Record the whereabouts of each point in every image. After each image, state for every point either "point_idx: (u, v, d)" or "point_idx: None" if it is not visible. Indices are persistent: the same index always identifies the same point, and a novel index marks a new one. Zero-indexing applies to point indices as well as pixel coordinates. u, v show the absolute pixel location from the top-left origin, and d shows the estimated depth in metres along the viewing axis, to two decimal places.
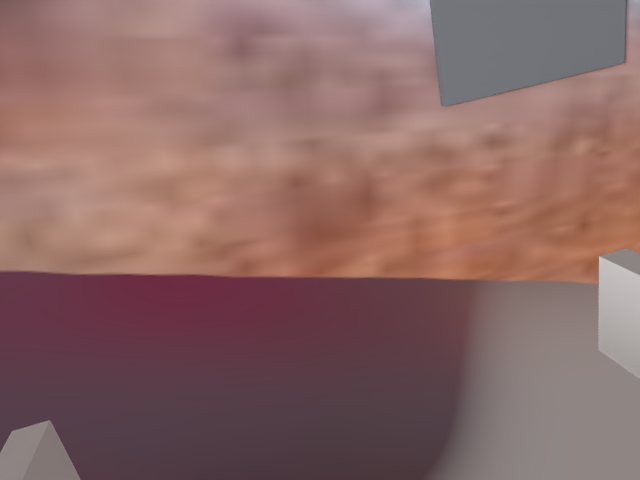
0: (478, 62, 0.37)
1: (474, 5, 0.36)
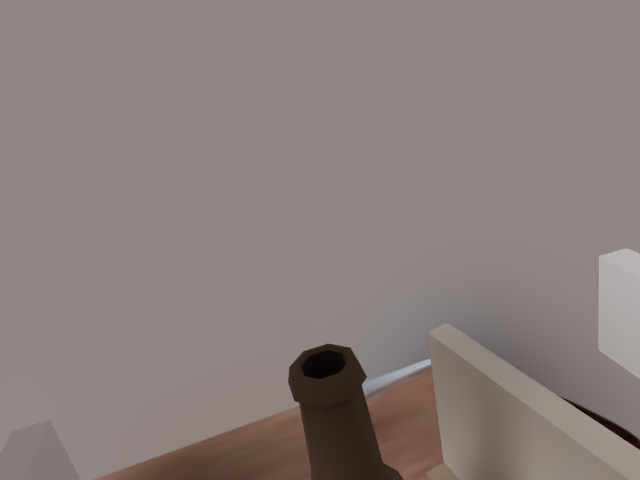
0: None
1: None
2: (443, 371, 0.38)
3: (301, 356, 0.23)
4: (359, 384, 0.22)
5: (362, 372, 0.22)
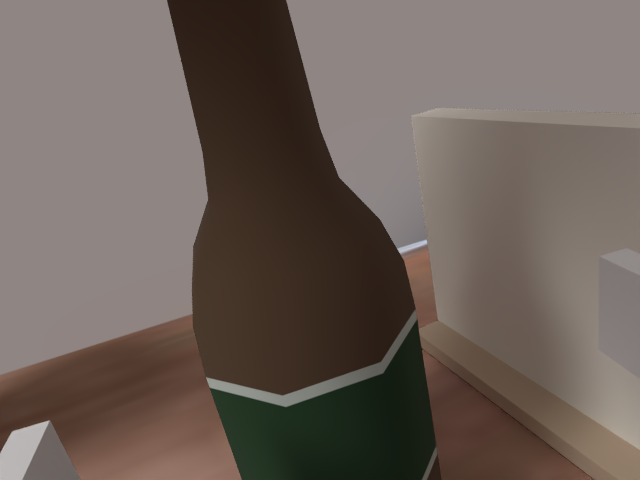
0: None
1: None
2: (432, 167, 0.28)
3: None
4: None
5: None
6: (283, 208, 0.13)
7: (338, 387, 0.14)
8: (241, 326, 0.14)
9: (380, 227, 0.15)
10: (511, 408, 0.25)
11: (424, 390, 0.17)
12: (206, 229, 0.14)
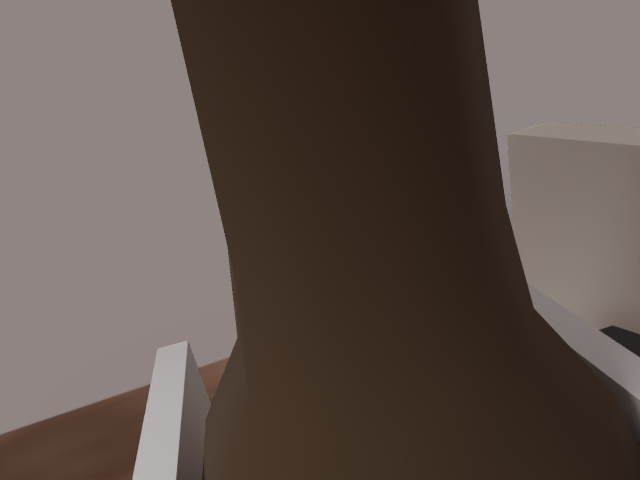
0: None
1: None
2: (540, 207, 0.20)
3: None
4: None
5: None
6: (443, 423, 0.05)
7: None
8: None
9: (618, 414, 0.07)
10: None
11: None
12: (239, 445, 0.06)
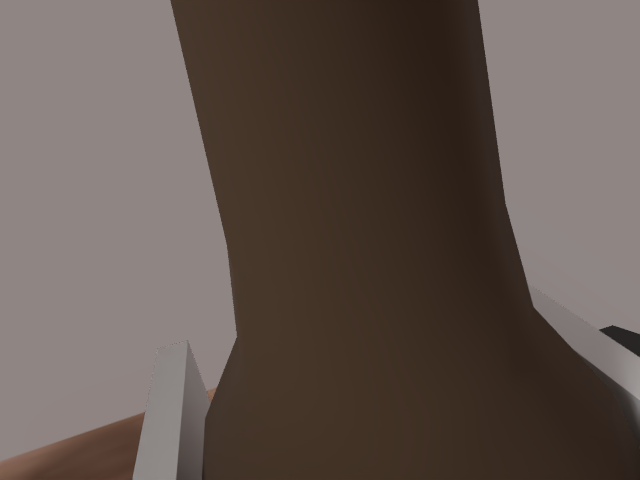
0: None
1: None
2: None
3: None
4: None
5: None
6: (443, 423, 0.05)
7: None
8: None
9: (617, 413, 0.07)
10: None
11: None
12: (239, 444, 0.06)
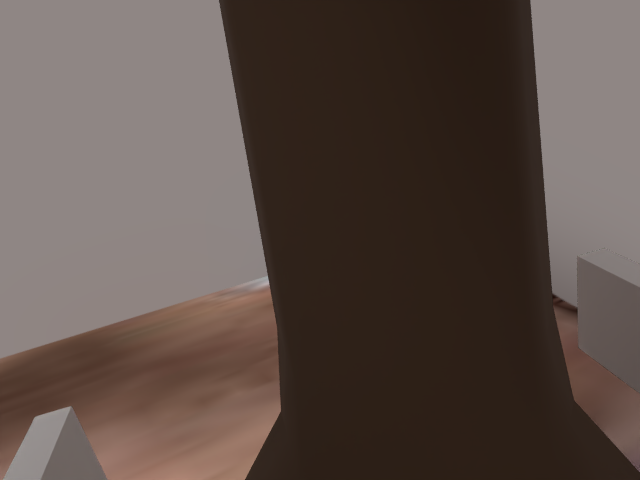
0: None
1: None
2: None
3: None
4: None
5: None
6: None
7: None
8: None
9: None
10: None
11: None
12: None
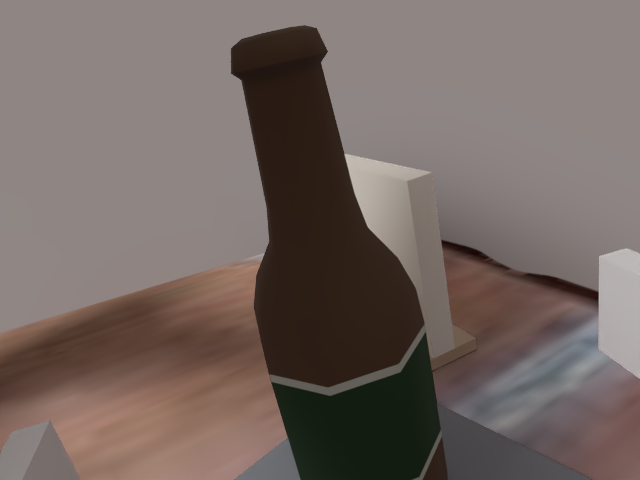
0: None
1: None
2: None
3: None
4: (316, 50, 0.17)
5: (321, 42, 0.18)
6: (329, 252, 0.19)
7: (368, 382, 0.19)
8: (299, 337, 0.19)
9: (398, 264, 0.20)
10: None
11: (431, 386, 0.22)
12: (271, 266, 0.20)
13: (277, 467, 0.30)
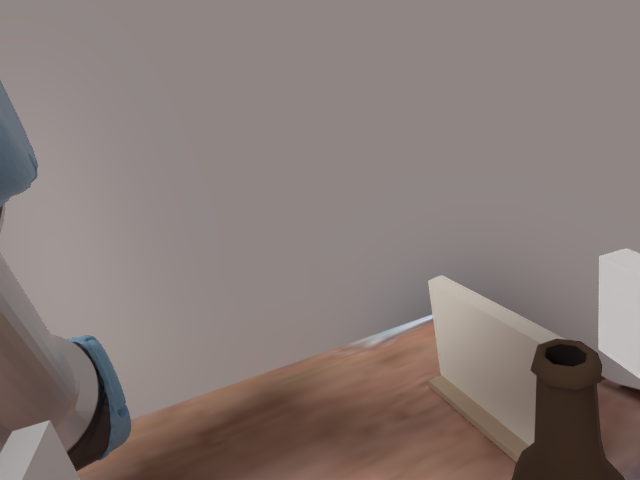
0: None
1: None
2: (438, 306, 0.58)
3: (540, 348, 0.28)
4: (600, 371, 0.27)
5: (600, 361, 0.27)
6: None
7: None
8: None
9: None
10: (474, 422, 0.56)
11: None
12: None
13: None
